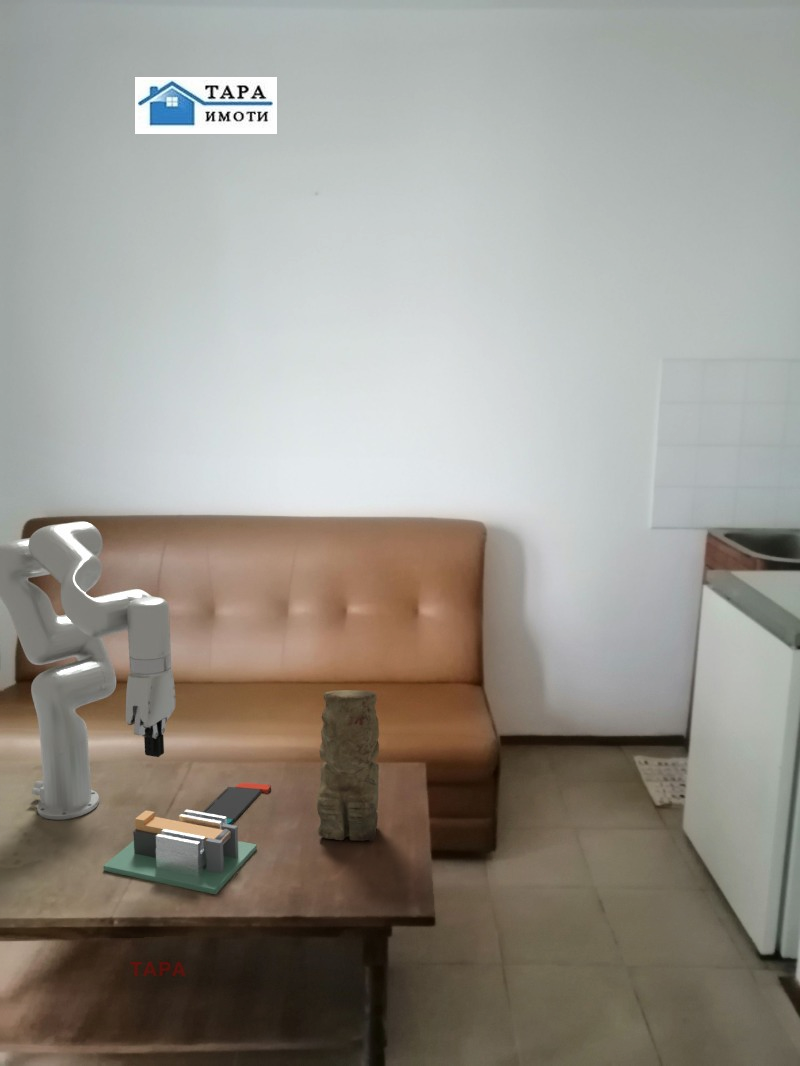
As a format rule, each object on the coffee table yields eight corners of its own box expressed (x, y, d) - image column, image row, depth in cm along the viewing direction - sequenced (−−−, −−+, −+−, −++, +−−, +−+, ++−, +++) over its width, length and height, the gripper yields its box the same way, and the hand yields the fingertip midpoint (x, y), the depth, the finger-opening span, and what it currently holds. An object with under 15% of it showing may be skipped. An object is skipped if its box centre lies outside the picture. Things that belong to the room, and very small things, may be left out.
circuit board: (103, 870, 161) (101, 835, 160) (152, 829, 176) (151, 796, 175) (215, 894, 154) (214, 858, 152) (256, 849, 168) (255, 815, 167)
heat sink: (156, 868, 160) (155, 836, 159) (188, 838, 170) (187, 809, 169) (198, 876, 157) (197, 844, 156) (228, 846, 167) (227, 816, 166)
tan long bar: (231, 838, 162) (230, 826, 162) (221, 847, 159) (221, 835, 159) (146, 821, 168) (145, 810, 168) (135, 830, 165) (135, 818, 164)
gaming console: (192, 826, 178) (235, 831, 176) (192, 822, 178) (235, 826, 175) (233, 785, 197) (273, 789, 194) (233, 781, 196) (273, 784, 194)
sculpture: (315, 844, 170) (313, 702, 165) (321, 821, 179) (319, 686, 174) (376, 845, 170) (376, 704, 165) (379, 822, 179) (379, 687, 174)
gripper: (156, 649, 168) (160, 736, 171) (108, 673, 154) (113, 768, 157) (189, 653, 165) (192, 741, 168) (144, 678, 151) (148, 774, 154)
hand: (154, 754), depth 163 cm, fingers closed
